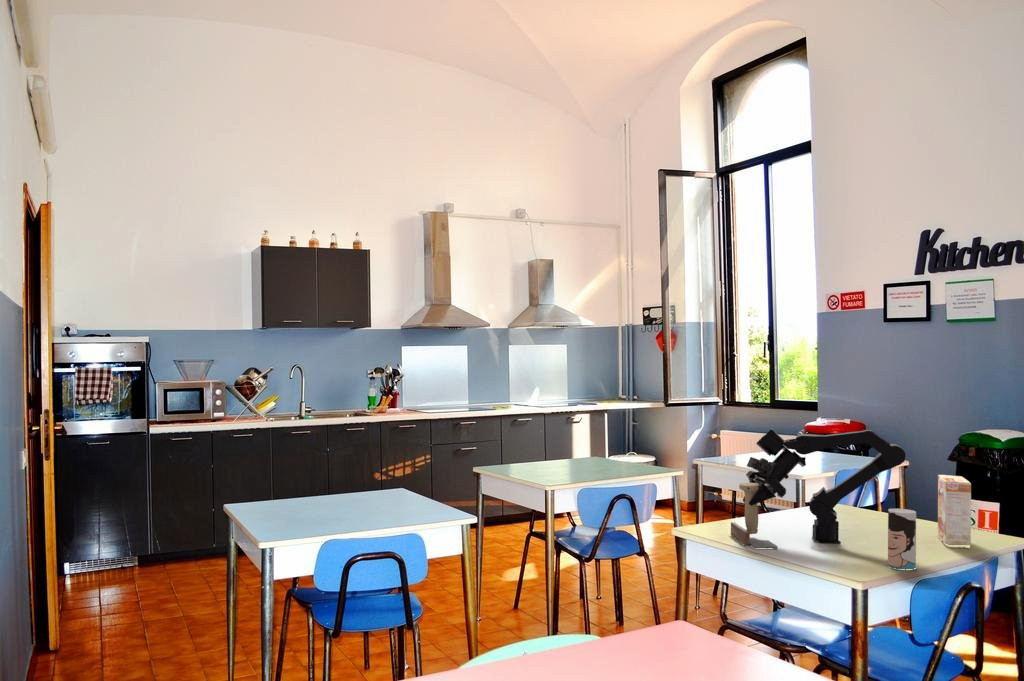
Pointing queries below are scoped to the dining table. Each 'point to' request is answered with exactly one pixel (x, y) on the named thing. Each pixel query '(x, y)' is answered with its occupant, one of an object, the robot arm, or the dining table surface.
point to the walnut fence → (740, 534)
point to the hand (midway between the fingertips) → (746, 503)
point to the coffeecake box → (954, 510)
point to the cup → (901, 538)
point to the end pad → (762, 544)
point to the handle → (750, 507)
